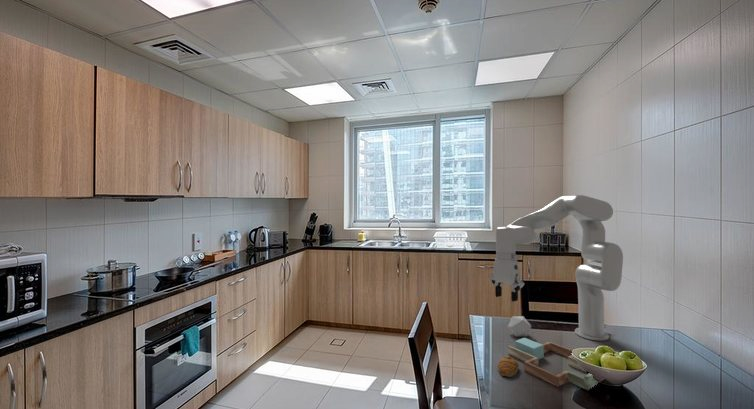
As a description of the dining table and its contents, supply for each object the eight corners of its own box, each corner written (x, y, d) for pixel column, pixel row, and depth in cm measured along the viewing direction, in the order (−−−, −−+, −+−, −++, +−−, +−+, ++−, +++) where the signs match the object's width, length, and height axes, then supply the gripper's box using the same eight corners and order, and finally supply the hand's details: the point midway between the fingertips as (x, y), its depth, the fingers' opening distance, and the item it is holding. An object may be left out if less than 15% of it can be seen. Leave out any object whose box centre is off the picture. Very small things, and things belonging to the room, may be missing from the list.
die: (529, 342, 135) (537, 321, 138) (509, 331, 137) (518, 310, 140) (520, 341, 143) (528, 321, 146) (502, 331, 144) (510, 311, 148)
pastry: (516, 380, 105) (516, 369, 105) (495, 376, 108) (495, 364, 108) (519, 368, 113) (518, 357, 113) (499, 364, 116) (499, 353, 116)
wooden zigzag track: (535, 343, 132) (535, 334, 133) (615, 374, 107) (614, 362, 107) (498, 357, 120) (497, 347, 120) (577, 396, 95) (577, 383, 95)
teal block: (524, 349, 127) (524, 337, 127) (543, 357, 120) (543, 344, 120) (515, 353, 124) (515, 340, 124) (534, 362, 117) (533, 348, 117)
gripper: (530, 258, 126) (531, 302, 125) (494, 253, 141) (495, 292, 140) (518, 259, 122) (519, 305, 122) (483, 254, 137) (483, 295, 137)
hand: (506, 298), depth 131 cm, fingers open, 7 cm apart
